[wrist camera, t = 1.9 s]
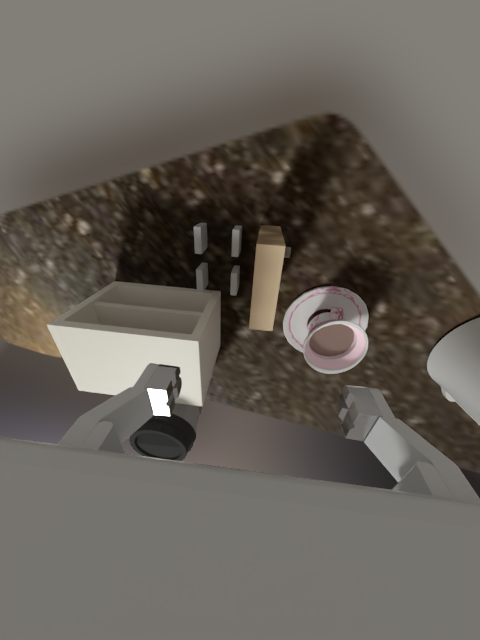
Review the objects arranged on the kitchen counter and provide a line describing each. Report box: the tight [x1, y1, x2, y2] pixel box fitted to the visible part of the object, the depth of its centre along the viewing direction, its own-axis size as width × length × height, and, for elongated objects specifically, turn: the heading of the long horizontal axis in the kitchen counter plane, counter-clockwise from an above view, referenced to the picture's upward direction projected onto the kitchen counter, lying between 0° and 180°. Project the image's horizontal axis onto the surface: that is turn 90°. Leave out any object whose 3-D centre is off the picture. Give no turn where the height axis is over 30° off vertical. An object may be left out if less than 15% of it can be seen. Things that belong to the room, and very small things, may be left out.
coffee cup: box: [130, 403, 202, 461], centre depth 34 cm, size 8×8×15 cm
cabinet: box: [47, 223, 242, 406], centre depth 28 cm, size 19×19×12 cm
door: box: [249, 225, 291, 331], centre depth 25 cm, size 3×8×10 cm, turn 177°
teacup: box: [283, 286, 369, 374], centre depth 30 cm, size 12×12×6 cm
